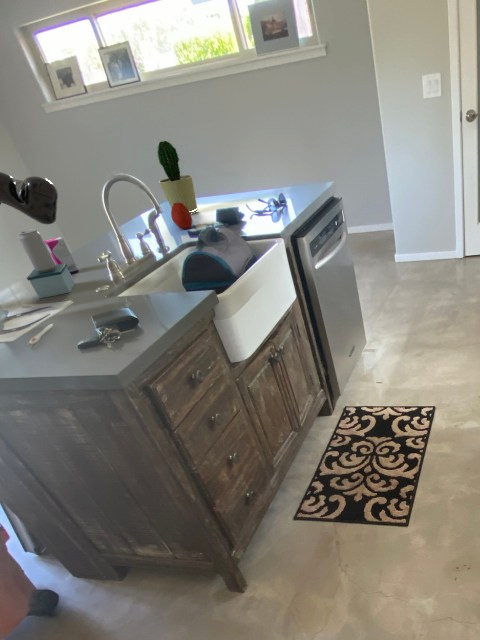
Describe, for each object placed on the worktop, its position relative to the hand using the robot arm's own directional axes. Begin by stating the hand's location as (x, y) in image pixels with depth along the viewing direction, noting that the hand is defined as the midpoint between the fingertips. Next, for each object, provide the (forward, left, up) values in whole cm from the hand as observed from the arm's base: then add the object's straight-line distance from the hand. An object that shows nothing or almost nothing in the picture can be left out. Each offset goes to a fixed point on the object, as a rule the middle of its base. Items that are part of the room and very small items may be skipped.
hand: (11, 192), depth 154 cm
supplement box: (-3, +29, -30) cm, 42 cm away
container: (-3, +6, -30) cm, 31 cm away
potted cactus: (+40, +102, -30) cm, 114 cm away
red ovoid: (+40, +68, -30) cm, 85 cm away
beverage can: (-3, +6, -23) cm, 24 cm away
